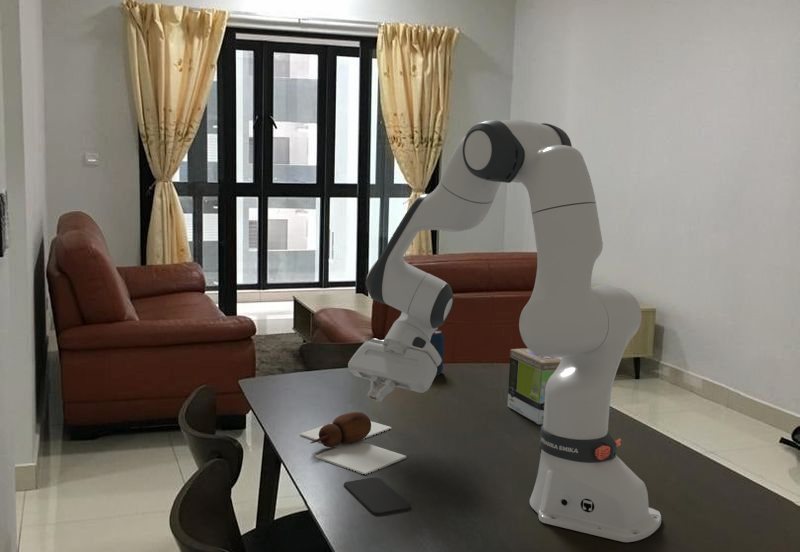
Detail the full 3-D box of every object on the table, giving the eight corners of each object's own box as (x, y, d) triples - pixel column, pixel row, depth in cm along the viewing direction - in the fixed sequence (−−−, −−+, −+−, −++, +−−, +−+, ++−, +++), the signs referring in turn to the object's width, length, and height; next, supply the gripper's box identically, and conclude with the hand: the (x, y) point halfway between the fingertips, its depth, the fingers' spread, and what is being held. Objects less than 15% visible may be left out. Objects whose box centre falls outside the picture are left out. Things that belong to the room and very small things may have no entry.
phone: (378, 476, 161) (413, 506, 147) (377, 480, 161) (413, 511, 147) (341, 482, 157) (374, 513, 144) (341, 486, 157) (374, 518, 144)
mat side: (406, 457, 172) (406, 455, 171) (365, 475, 162) (365, 473, 162) (356, 441, 180) (356, 440, 180) (314, 457, 170) (314, 455, 170)
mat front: (391, 428, 189) (391, 427, 189) (338, 448, 176) (338, 446, 176) (353, 417, 196) (353, 415, 196) (299, 435, 183) (299, 433, 183)
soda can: (431, 368, 241) (432, 327, 239) (447, 374, 236) (449, 331, 234) (412, 372, 237) (413, 330, 235) (429, 377, 231) (430, 334, 230)
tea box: (575, 422, 198) (579, 360, 195) (537, 426, 194) (541, 363, 192) (541, 403, 211) (544, 345, 209) (505, 406, 208) (508, 347, 205)
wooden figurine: (373, 411, 178) (315, 433, 168) (377, 437, 179) (319, 460, 169) (354, 406, 183) (296, 427, 174) (357, 432, 184) (300, 454, 174)
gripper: (361, 328, 186) (329, 380, 180) (436, 344, 173) (405, 401, 167) (374, 345, 190) (343, 396, 184) (448, 362, 177) (418, 417, 171)
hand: (373, 399), depth 175 cm, fingers closed
